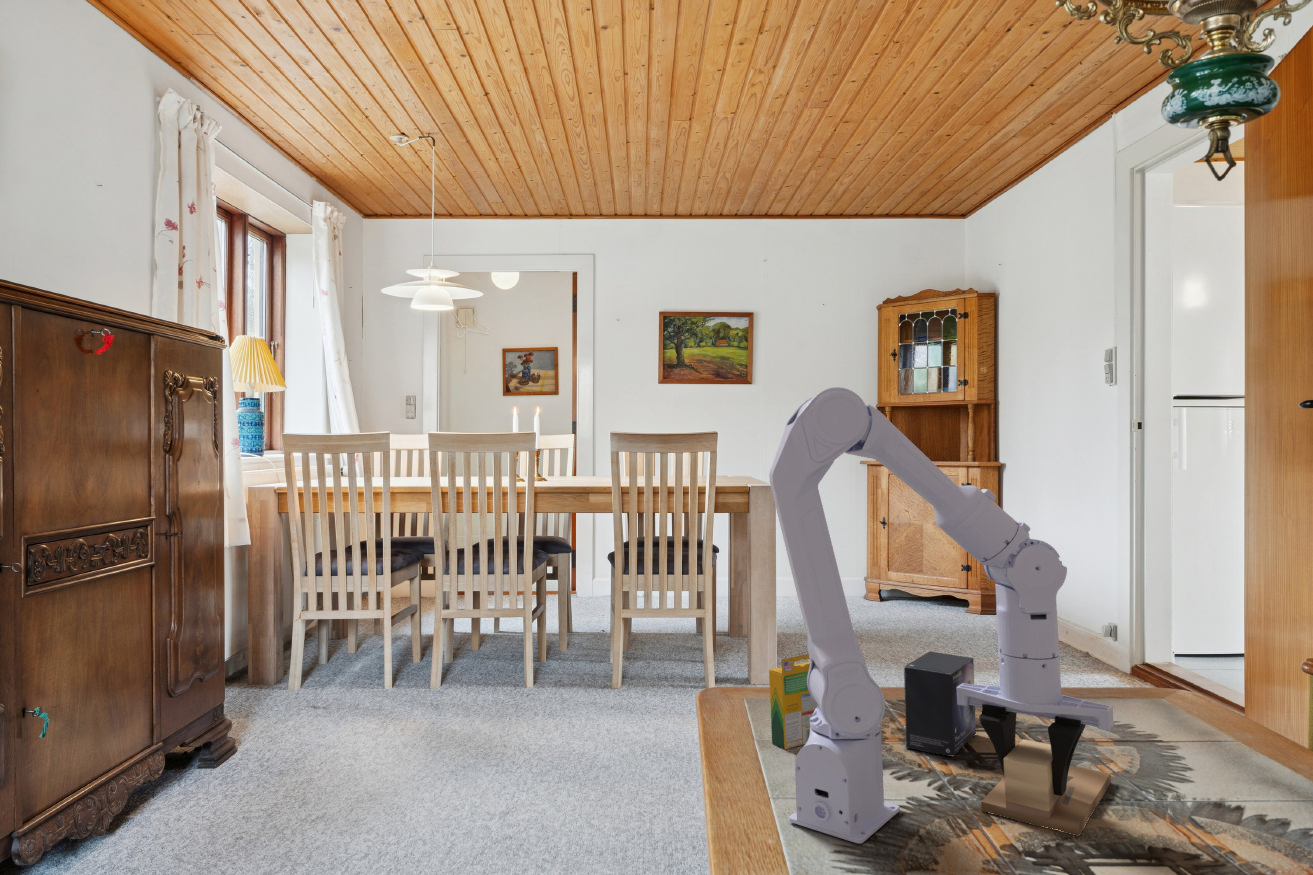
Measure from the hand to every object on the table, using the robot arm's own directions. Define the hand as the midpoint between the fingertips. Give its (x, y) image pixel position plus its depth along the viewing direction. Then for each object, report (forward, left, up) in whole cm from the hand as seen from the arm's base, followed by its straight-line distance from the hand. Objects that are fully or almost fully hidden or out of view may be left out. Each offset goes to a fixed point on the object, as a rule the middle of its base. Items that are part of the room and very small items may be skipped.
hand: (1035, 786), depth 78 cm
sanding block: (0, 0, -2) cm, 2 cm away
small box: (+15, +15, -3) cm, 21 cm away
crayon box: (+4, +30, -3) cm, 30 cm away
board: (+5, 0, -3) cm, 6 cm away
